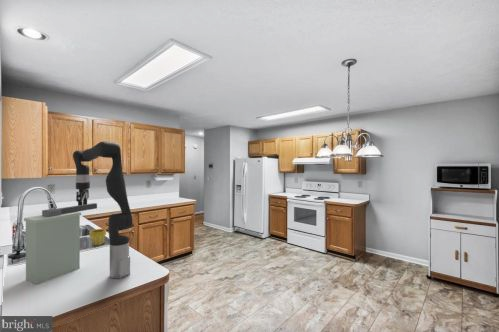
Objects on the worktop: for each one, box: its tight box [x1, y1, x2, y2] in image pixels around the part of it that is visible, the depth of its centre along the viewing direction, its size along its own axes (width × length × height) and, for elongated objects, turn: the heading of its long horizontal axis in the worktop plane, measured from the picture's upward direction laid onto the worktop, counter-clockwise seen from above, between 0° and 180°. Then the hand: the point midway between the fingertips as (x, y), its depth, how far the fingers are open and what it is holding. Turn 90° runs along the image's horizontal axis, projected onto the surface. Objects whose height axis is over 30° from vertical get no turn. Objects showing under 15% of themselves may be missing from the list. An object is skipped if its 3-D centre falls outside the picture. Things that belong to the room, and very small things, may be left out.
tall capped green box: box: [23, 211, 82, 286], centre depth 128 cm, size 21×11×32 cm, turn 155°
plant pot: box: [89, 228, 107, 246], centre depth 175 cm, size 10×10×10 cm
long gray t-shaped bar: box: [41, 202, 98, 217], centre depth 136 cm, size 26×6×3 cm, turn 155°
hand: (82, 206), depth 154 cm, fingers open, 8 cm apart
